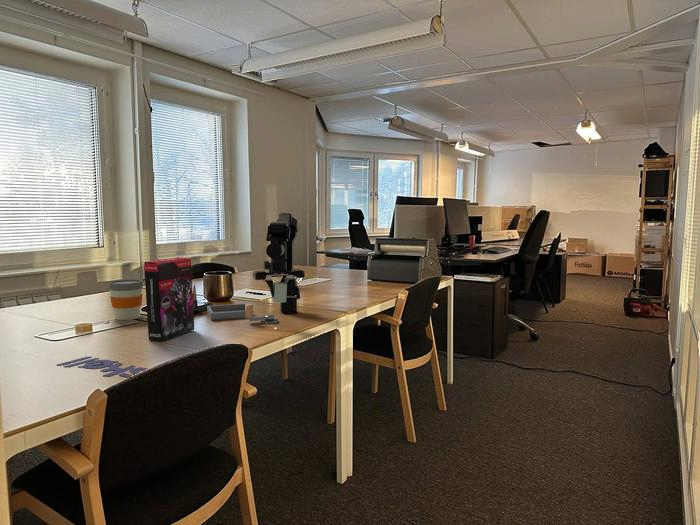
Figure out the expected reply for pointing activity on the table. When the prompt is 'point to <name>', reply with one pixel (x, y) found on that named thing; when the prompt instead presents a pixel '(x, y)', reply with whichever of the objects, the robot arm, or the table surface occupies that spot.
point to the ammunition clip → (194, 297)
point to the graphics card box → (169, 297)
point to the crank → (250, 315)
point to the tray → (226, 311)
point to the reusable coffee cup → (126, 298)
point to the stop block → (279, 292)
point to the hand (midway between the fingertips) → (279, 296)
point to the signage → (103, 366)
